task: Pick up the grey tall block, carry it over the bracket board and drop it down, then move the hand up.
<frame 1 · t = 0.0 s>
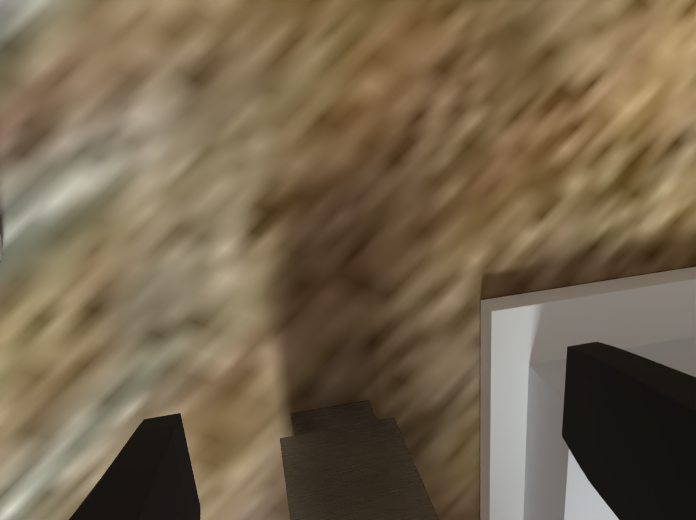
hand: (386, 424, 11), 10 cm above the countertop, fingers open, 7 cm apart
bracket board: (650, 456, 26), on the countertop
grey tall block: (333, 439, 23), on the countertop
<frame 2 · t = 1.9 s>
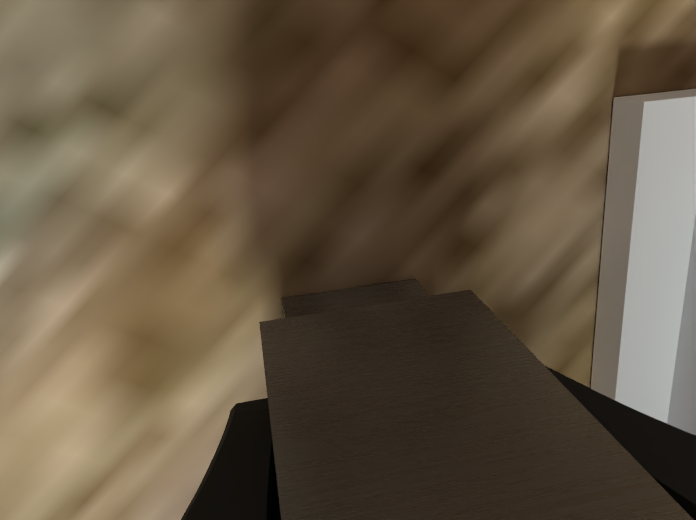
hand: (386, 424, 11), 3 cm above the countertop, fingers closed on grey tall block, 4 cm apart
grey tall block: (354, 348, 14), on the countertop, touching gripper
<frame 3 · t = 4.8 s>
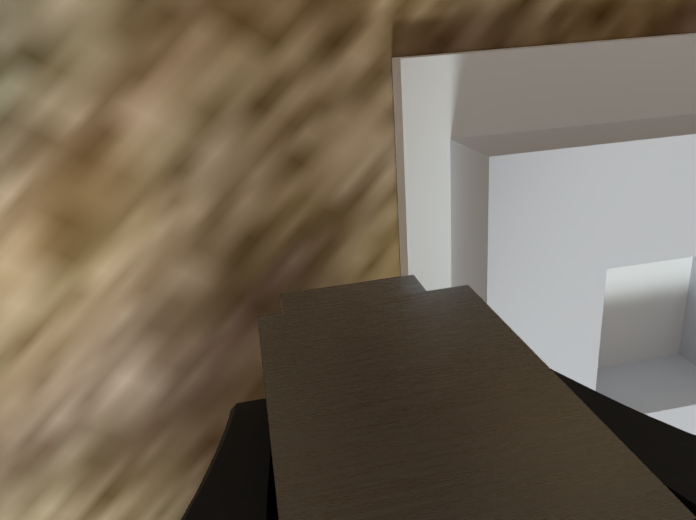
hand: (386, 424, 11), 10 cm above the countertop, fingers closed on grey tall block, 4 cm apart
bracket board: (605, 289, 23), on the countertop
grey tall block: (352, 344, 14), point 7 cm above the countertop, touching gripper
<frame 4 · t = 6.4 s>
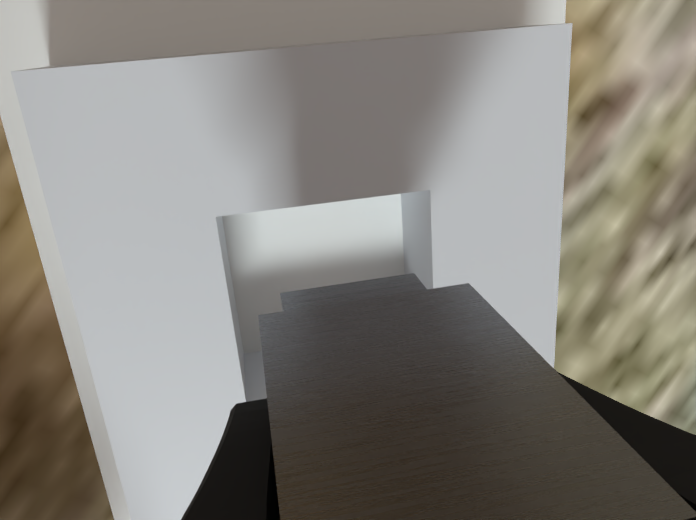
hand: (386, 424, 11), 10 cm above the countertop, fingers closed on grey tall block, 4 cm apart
bracket board: (315, 252, 20), on the countertop
grey tall block: (353, 343, 14), point 7 cm above the countertop, touching gripper
when the fingers open (5 cm above the countertop, at t = 7.7 s): grey tall block drops 1 cm, resting on bracket board.
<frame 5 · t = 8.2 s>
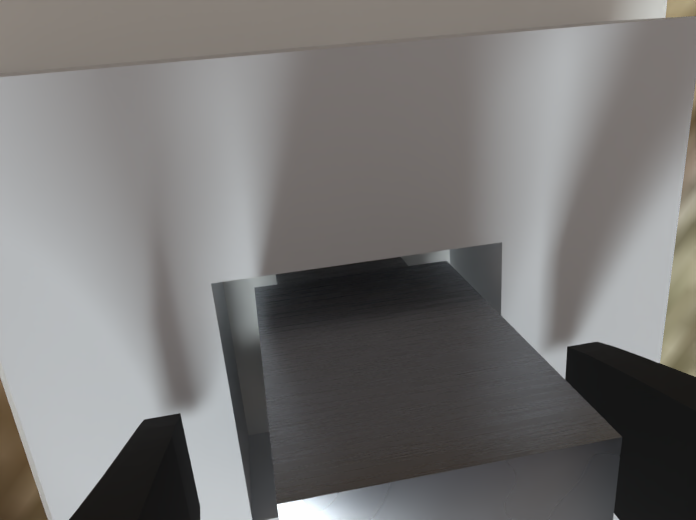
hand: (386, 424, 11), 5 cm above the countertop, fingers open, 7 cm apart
bracket board: (337, 307, 16), on the countertop
grey tall block: (342, 319, 15), point 1 cm above the countertop, touching bracket board
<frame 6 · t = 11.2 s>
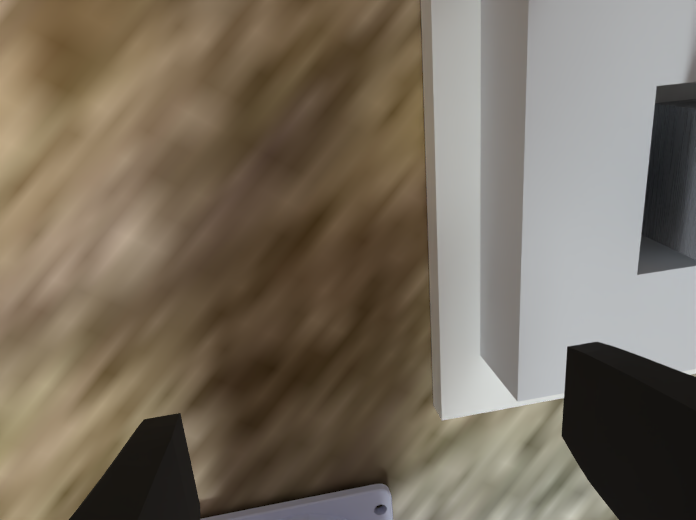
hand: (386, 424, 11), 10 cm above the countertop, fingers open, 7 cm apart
bracket board: (643, 151, 21), on the countertop
grey tall block: (662, 152, 20), point 1 cm above the countertop, touching bracket board
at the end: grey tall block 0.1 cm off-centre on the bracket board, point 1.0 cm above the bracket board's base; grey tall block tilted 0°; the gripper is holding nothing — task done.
